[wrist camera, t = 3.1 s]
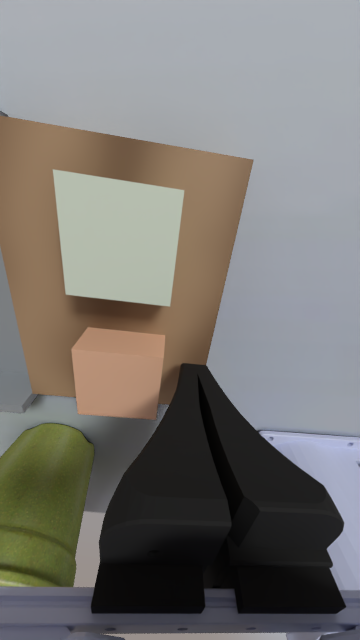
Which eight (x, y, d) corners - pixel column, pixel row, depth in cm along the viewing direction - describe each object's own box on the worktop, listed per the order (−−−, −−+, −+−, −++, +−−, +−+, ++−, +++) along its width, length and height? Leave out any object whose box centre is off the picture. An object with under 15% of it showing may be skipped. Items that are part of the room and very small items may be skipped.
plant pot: (-4, 393, 16) (-179, 572, 8) (125, 420, 17) (85, 591, 9) (-1, 468, 19) (-116, 637, 12) (104, 484, 21) (64, 643, 13)
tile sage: (182, 195, 9) (184, 190, 7) (170, 290, 10) (170, 306, 9) (79, 178, 8) (52, 169, 7) (84, 280, 10) (65, 294, 8)
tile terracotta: (165, 335, 11) (163, 357, 10) (158, 391, 13) (156, 419, 11) (87, 327, 11) (71, 349, 9) (91, 386, 13) (77, 414, 11)
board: (239, 169, 10) (253, 160, 8) (193, 384, 16) (196, 406, 14) (10, 130, 9) (-30, 110, 7) (49, 371, 15) (32, 393, 13)
